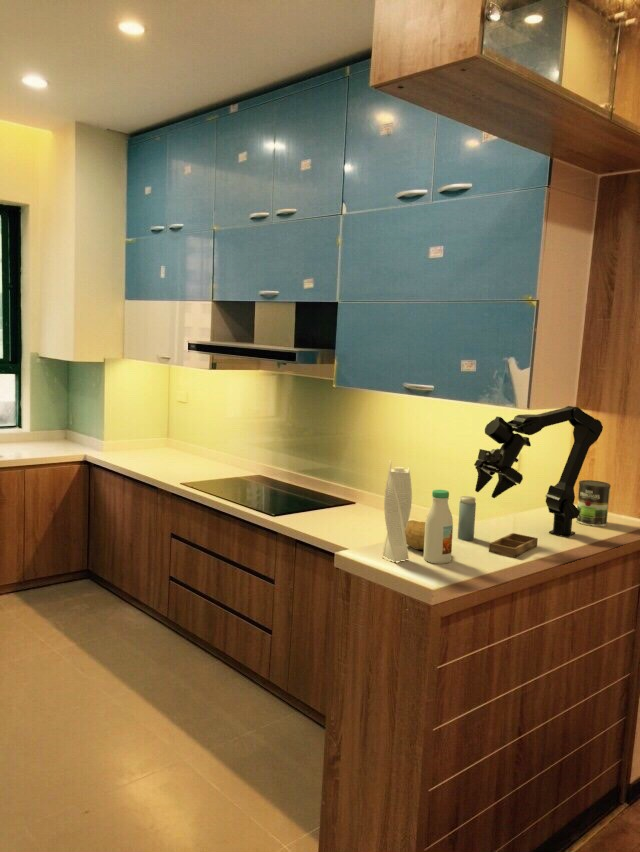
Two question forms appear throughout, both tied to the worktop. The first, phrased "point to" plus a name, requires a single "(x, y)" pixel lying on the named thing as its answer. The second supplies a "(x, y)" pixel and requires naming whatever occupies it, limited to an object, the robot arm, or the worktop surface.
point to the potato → (415, 534)
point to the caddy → (513, 545)
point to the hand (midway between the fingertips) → (484, 494)
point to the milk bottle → (438, 529)
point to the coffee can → (593, 502)
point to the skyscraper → (397, 512)
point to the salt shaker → (466, 518)
